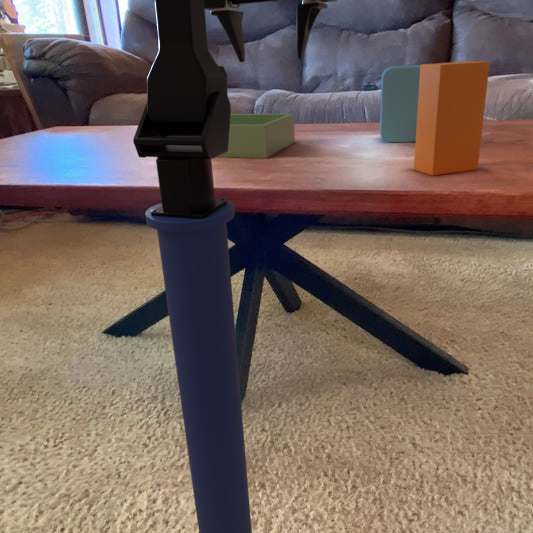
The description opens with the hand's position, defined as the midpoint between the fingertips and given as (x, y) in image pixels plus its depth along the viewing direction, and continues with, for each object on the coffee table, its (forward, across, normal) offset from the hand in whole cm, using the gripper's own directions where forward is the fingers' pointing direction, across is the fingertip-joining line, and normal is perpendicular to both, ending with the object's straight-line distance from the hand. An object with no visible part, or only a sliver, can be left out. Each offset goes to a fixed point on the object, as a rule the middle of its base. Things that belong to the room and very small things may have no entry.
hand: (270, 60), depth 75 cm
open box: (+14, +8, -6) cm, 17 cm away
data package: (+14, -20, -17) cm, 30 cm away
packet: (+14, -26, +6) cm, 30 cm away
